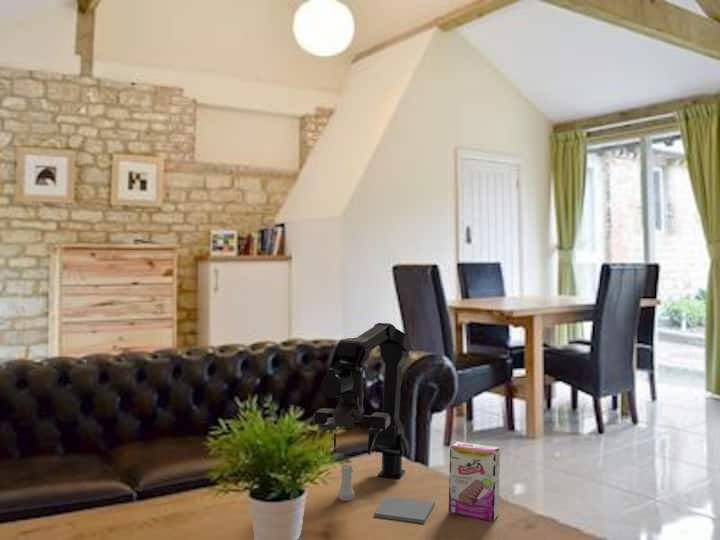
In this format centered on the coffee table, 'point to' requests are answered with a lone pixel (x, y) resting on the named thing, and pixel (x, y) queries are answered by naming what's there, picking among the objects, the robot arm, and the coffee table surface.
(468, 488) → the candy bar box
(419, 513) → the gray mat
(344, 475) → the rook chess piece
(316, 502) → the coffee table surface
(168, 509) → the coffee table surface
